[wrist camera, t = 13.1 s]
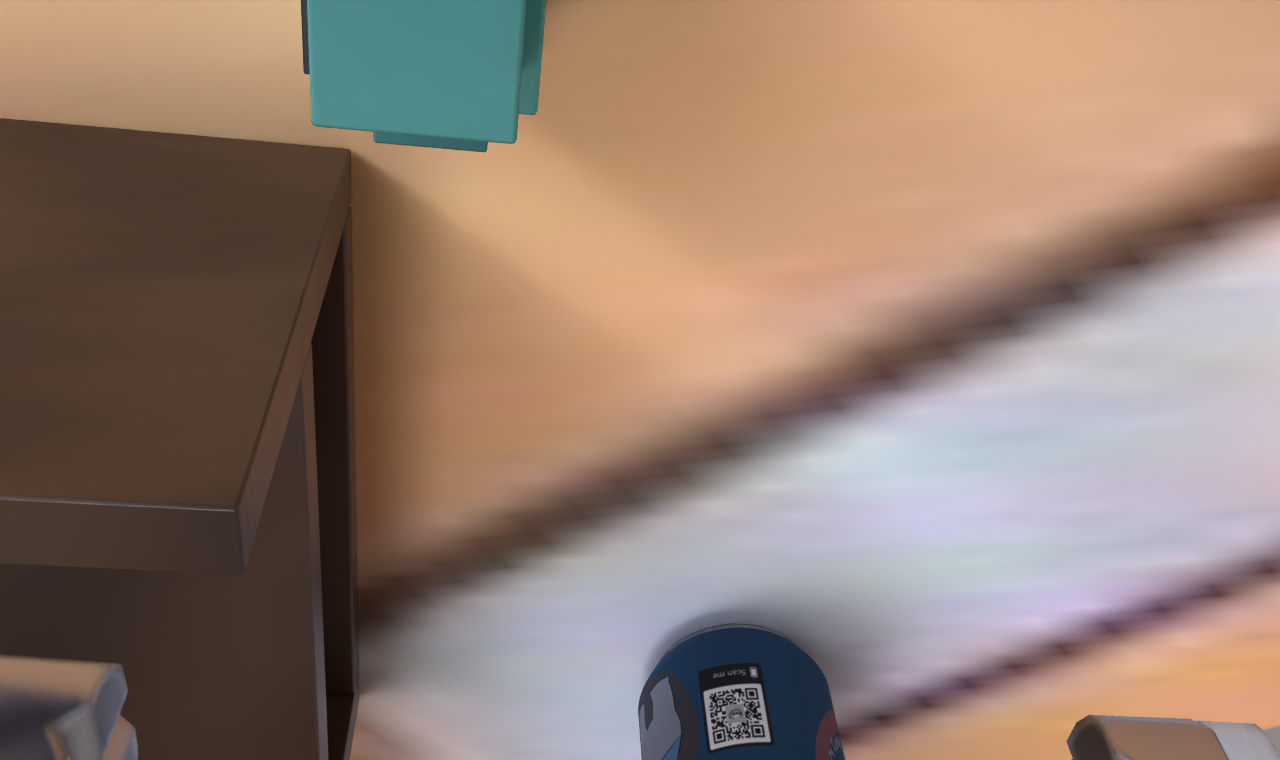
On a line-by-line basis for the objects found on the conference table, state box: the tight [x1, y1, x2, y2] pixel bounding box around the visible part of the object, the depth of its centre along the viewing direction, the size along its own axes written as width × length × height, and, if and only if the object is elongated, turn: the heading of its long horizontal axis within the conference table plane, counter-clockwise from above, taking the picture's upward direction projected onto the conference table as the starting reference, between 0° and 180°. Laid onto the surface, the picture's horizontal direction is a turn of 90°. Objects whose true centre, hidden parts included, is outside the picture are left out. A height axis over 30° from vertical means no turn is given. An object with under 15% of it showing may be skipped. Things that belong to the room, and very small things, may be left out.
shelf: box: [0, 118, 359, 760], centre depth 32 cm, size 11×22×14 cm, turn 173°
